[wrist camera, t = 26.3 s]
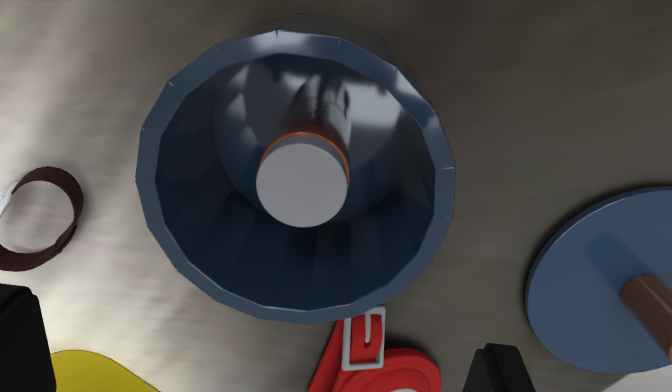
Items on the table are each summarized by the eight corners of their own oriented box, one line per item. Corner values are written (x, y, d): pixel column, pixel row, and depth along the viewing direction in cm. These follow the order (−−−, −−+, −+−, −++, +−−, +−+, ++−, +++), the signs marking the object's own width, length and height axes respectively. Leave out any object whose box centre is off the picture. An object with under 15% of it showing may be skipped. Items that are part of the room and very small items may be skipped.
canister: (197, -1, 23) (121, 9, 16) (448, 30, 24) (494, 55, 16) (200, 218, 29) (144, 306, 21) (405, 243, 29) (423, 338, 21)
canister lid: (559, 168, 27) (614, 219, 21) (792, 196, 27) (909, 254, 21) (497, 349, 32) (527, 427, 27) (689, 371, 33) (759, 453, 27)
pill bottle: (285, 91, 25) (260, 131, 18) (358, 107, 25) (359, 153, 18) (273, 160, 26) (247, 219, 20) (342, 174, 27) (338, 238, 20)
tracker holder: (474, 396, 33) (368, 484, 33) (443, 351, 36) (348, 431, 37) (378, 312, 26) (250, 423, 27) (352, 268, 30) (240, 367, 31)
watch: (39, 142, 27) (-5, 165, 24) (110, 192, 28) (77, 220, 25) (-15, 228, 30) (-61, 259, 26) (52, 270, 31) (16, 305, 28)
